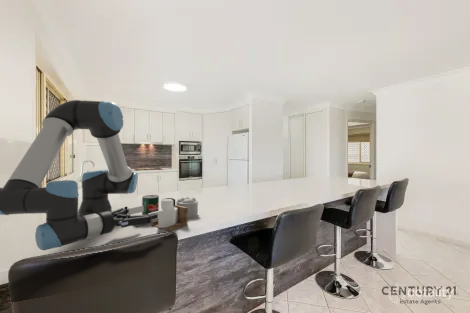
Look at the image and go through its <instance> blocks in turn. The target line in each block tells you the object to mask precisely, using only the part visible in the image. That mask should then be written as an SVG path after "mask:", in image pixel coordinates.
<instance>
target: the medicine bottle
mask: <svg viewBox="0 0 470 313" xmlns="http://www.w3.org/2000/svg"><path fill="white" fill-rule="evenodd" d="M160 202H161V209H160V210H159V211H161V210H163V217H162V218H158V219H157V220H158V227H157V228H159V229H161V228H168V227H169V226H172V225H175V224H177V223H178V208H175V205H176V199H175V198H173V197H167V198H162V199H161V201H160Z"/></svg>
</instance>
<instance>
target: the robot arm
mask: <svg viewBox="0 0 470 313" xmlns="http://www.w3.org/2000/svg"><path fill="white" fill-rule="evenodd" d="M123 118H124V116H123V112H122V109H121V108H120V107H119V106H118V104H117V103H115V102H111V101H105V100H102V101H97V100H80V99H73V100H68V101H66V102H62V103H61V104H59V105H57V106H56V107H54V108H53V109H51V110H50V112H48V113H47V114H46V116H44V119H43V120H42V122H41V124H42V128H41V129H40V131H39V132H38V134H37V135H36V137H35V138H34V141H33V142H32V143H31V144H30V146H29V148H28V150H27V151H26V152H25V153H24V156H23V157H22V158H21V160H20V162H19V163H18V164H17V166H16V168H15V169H14V171H13V172H12V174H11V175H10V177H9V179H8V180H7V181H6V183H5V184H4V186H3V187H0V216H2V215H3V216H9V215H21V214H23V215H24V214H30V215H31V214H33V215H34V214H45V215H46V219H45V222H44V223H42V224H39V225H38V226H37V227H36V228H35V237H34V238H35V243H36V247H37V248H38V249H39V250H41V251H47V250H52V249H56V248H61V247H63V246H68V245H71V244H73V243H76V242H77V243H78V242H81V241H84V240H88V241H89V240H90V239H91V238H94V237H98V236H102V235H105V234H108V233H112V232H113V231H114V228H115V227H121V228H127V227H133V226H135V225H141V224H146V225H147V224H148V225H149V224H152V221H156V220H158V218H162V217H163V210H161V209H160V210H161V211H160V210H159V211H157V212H153V213H149V214H148V215H142V214H141V213H142V212H144V206H143V205H138V206H134V207H128V206H124V207H121V208H118V209H115V210H113V209H112V205H111V202H110V200H109V195H115V194H117V195H121V194H122V195H124V194H125V195H128V194H133V193H135V192H136V189H137V184H138V172H136V171H133V170H132V168H131V167H130V166H128V163H127V160H126V156H125V153H124V150H123V145H122V143H121V139H120V135H119V134H120V132H121V130H122V128H124V119H123ZM77 130H89V132H90V134H91V136H92V137H93V138H95V139H97V142H98V145H99V147H100V150H101V153H102V155H103V158H104V161H105V163H106V166H107V169H100V170H93V171H86V172H84V173H83V174H82V178H81V187H82V188H81V193H82V194H81V196H82V197H81V198H82V199H81V202H80V205H79V197H80V196H79V195H80V194H79V189H78V188H79V187H78V186H79V185H78V182H77V181H75V180H71V179H70V180H69V179H68V180H67V179H65V180H52V181H48V182H47V183H46V186H43V187H41V185H42V184H43V182H44V180H45V178H46V176H47V174H48V173H49V170H50V169H51V167H52V165H53V163H54V161H55V159H56V158H57V155H58V153H59V152H60V150H61V148H62V146H63V145H64V143H65V141H66V139H67V137H70V136H71V135H72V134H73V132H74V131H77ZM139 213H140V214H139ZM136 214H137V215H136ZM138 214H139V215H138ZM141 226H142V225H141Z"/></svg>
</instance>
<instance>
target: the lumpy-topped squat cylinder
mask: <svg viewBox="0 0 470 313" xmlns="http://www.w3.org/2000/svg"><path fill="white" fill-rule="evenodd" d="M198 203H199V202H198V201H197V199H196V198H195V197H191V198H190V196H186V197H183V196H182V197H181V198H178V199H177V200H176V202H175V205H178V206H183V207H188V218H191V217H192V218H193V217H198V210H199V208H198V206H199V204H198Z"/></svg>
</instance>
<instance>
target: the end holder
mask: <svg viewBox="0 0 470 313" xmlns="http://www.w3.org/2000/svg"><path fill="white" fill-rule="evenodd" d="M175 208H178V223H177V224H175V225H172V226H169V227H168V228H160V229H161V230H165V231H168V232H171V231H175V230H178V229H181V228H183V227H186V226H188V223H189V221H188V220H189V219H188V218H189V217H188V207H183V206H178V205H176V204H175ZM151 226H153V227H155V226H156V227H155V228H158V219H155V220H151Z"/></svg>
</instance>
